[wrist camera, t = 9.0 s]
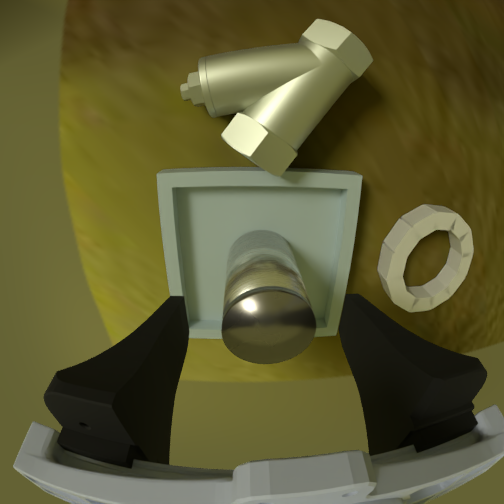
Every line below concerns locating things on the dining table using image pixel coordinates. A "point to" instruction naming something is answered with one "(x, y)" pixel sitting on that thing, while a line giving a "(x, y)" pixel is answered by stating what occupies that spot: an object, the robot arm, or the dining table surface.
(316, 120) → the pipe fitting
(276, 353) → the metal cylinder
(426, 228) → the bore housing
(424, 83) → the dining table surface
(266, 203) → the tray
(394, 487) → the robot arm
